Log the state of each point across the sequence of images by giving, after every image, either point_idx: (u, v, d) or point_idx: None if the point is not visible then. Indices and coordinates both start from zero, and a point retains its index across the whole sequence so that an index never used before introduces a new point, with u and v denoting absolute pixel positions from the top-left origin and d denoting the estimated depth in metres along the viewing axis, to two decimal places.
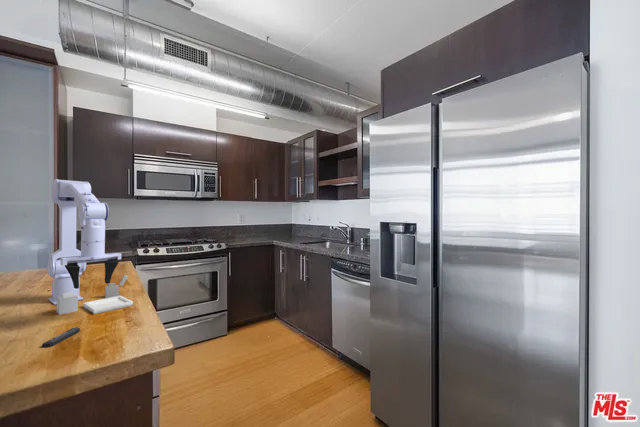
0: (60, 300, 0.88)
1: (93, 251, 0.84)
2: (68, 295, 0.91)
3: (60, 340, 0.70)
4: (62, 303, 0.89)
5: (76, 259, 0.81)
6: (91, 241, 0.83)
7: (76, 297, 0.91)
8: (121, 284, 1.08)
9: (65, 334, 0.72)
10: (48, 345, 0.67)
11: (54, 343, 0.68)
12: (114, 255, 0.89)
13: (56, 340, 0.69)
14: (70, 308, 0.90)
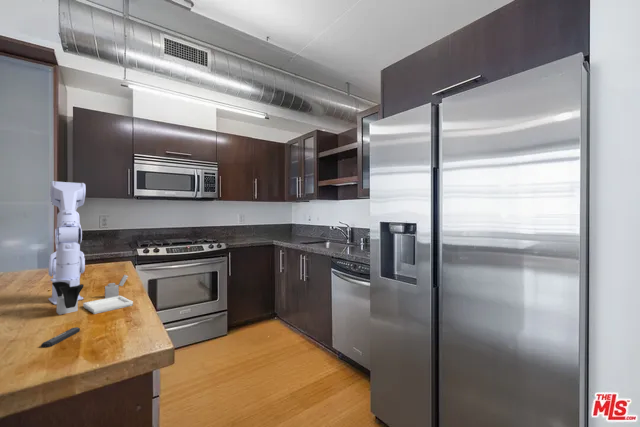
0: (60, 300, 0.88)
1: (56, 272, 0.89)
2: None
3: (59, 340, 0.70)
4: (62, 303, 0.89)
5: None
6: (63, 264, 0.88)
7: None
8: (121, 284, 1.08)
9: (64, 334, 0.72)
10: (47, 345, 0.67)
11: (53, 343, 0.68)
12: (66, 281, 0.87)
13: (55, 340, 0.69)
14: (70, 308, 0.90)
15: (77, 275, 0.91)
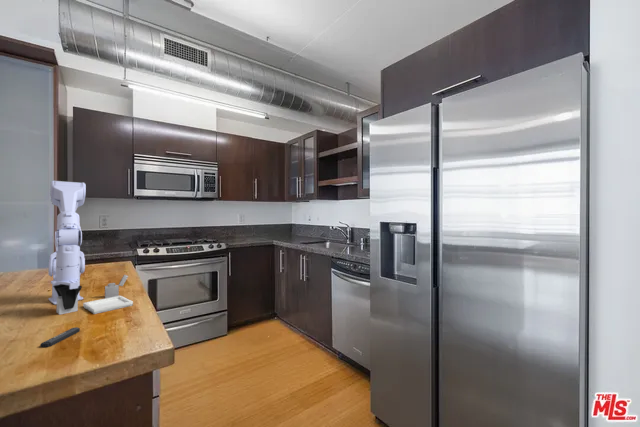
0: (60, 300, 0.88)
1: (55, 275, 0.89)
2: None
3: (58, 340, 0.70)
4: (62, 302, 0.89)
5: None
6: (63, 266, 0.88)
7: None
8: (121, 284, 1.08)
9: (64, 334, 0.72)
10: (46, 345, 0.67)
11: (52, 343, 0.68)
12: (66, 283, 0.87)
13: (54, 340, 0.69)
14: None
15: (77, 277, 0.91)
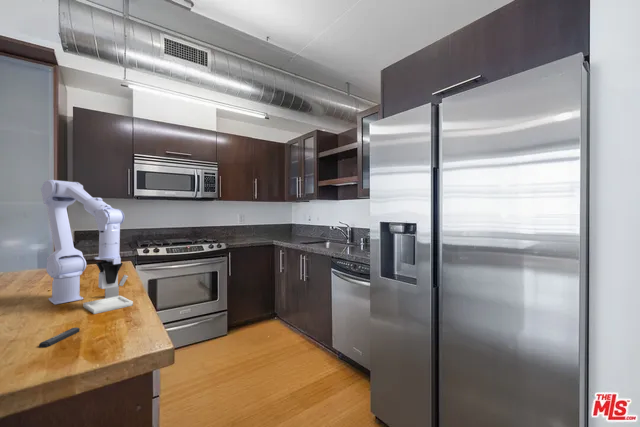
0: (103, 275, 0.94)
1: (99, 252, 0.95)
2: None
3: (57, 340, 0.70)
4: (104, 277, 0.94)
5: None
6: (112, 243, 0.95)
7: None
8: (121, 284, 1.08)
9: (63, 334, 0.72)
10: (44, 345, 0.67)
11: (51, 343, 0.68)
12: (110, 259, 0.93)
13: (53, 340, 0.69)
14: None
15: (118, 254, 0.97)
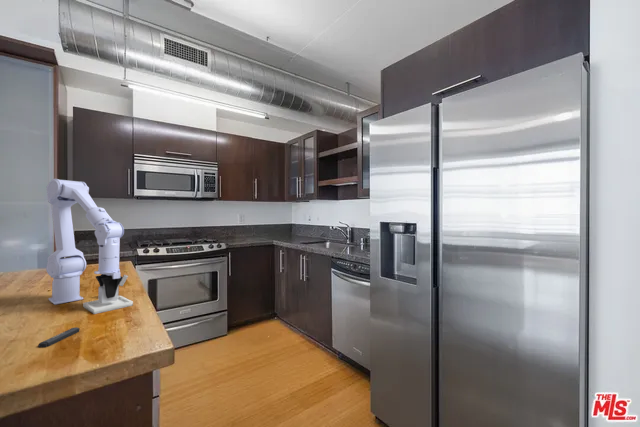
0: (102, 289, 0.94)
1: None
2: None
3: (57, 340, 0.70)
4: (104, 292, 0.94)
5: None
6: (111, 257, 0.95)
7: None
8: (121, 284, 1.08)
9: (63, 334, 0.72)
10: (44, 345, 0.67)
11: (50, 343, 0.68)
12: (110, 273, 0.93)
13: (52, 340, 0.69)
14: None
15: (118, 268, 0.97)
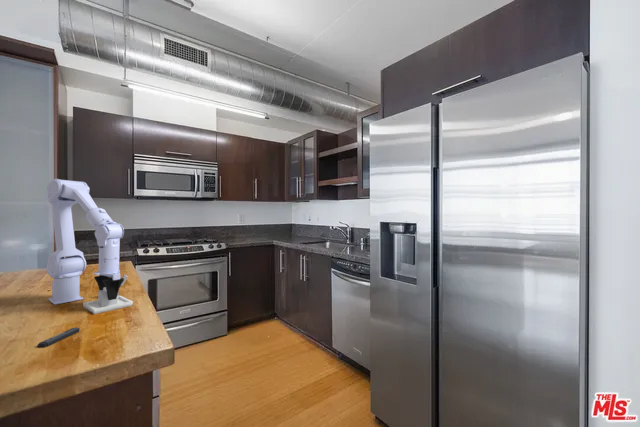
0: (102, 293, 0.94)
1: None
2: None
3: (56, 340, 0.70)
4: (104, 296, 0.94)
5: None
6: (111, 258, 0.95)
7: None
8: (121, 284, 1.08)
9: (62, 334, 0.72)
10: (43, 345, 0.67)
11: (49, 343, 0.68)
12: (110, 275, 0.93)
13: (52, 340, 0.69)
14: (111, 301, 0.96)
15: (117, 269, 0.97)
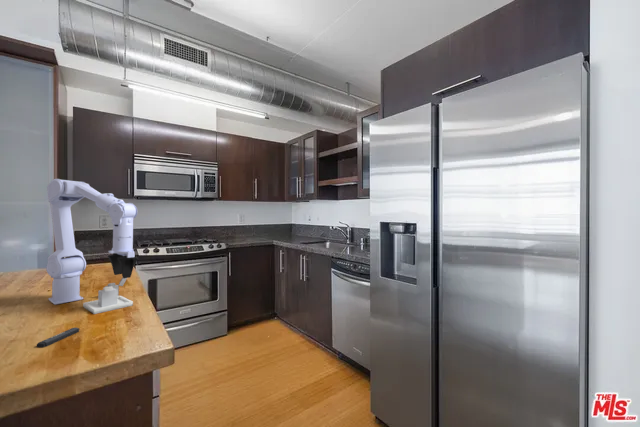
0: (102, 293, 0.94)
1: None
2: (109, 289, 0.96)
3: (55, 340, 0.70)
4: (104, 296, 0.94)
5: (112, 250, 0.99)
6: (126, 237, 0.96)
7: (116, 291, 0.97)
8: (121, 284, 1.08)
9: (62, 334, 0.72)
10: (42, 345, 0.67)
11: (48, 343, 0.68)
12: (124, 252, 0.93)
13: (51, 340, 0.69)
14: (111, 301, 0.96)
15: (131, 248, 0.98)
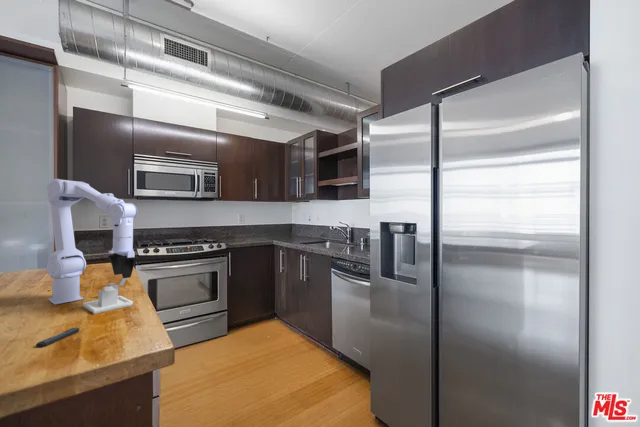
0: (102, 293, 0.94)
1: None
2: (109, 289, 0.96)
3: (55, 340, 0.70)
4: (104, 296, 0.94)
5: (112, 250, 0.99)
6: (126, 237, 0.96)
7: (116, 291, 0.97)
8: (121, 284, 1.08)
9: (61, 334, 0.72)
10: (41, 345, 0.67)
11: (47, 343, 0.68)
12: (124, 252, 0.93)
13: (50, 340, 0.69)
14: (111, 301, 0.96)
15: (131, 248, 0.98)
